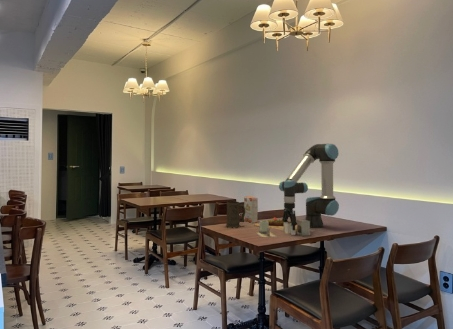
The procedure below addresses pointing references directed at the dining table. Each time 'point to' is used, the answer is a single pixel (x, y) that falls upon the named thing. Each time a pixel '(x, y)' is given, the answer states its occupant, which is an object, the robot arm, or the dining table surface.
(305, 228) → the feeder chute
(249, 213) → the cracker box
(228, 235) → the dining table surface
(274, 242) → the dining table surface
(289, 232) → the sleeve
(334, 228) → the dining table surface
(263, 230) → the seated sleeve
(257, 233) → the pin board
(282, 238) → the dining table surface
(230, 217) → the beer stein
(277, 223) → the cutting board
